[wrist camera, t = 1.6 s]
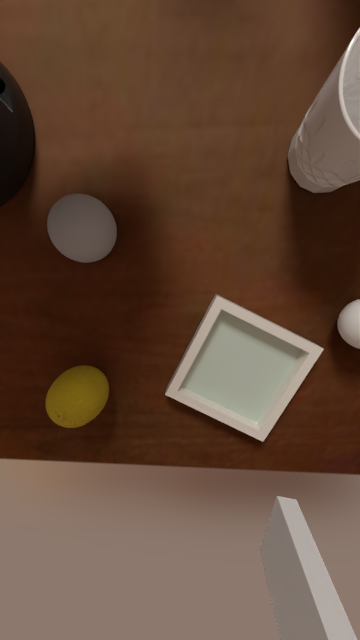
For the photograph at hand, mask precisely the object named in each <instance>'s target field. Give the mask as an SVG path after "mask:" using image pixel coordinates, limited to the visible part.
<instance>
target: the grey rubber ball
mask: <svg viewBox="0 0 360 640" xmlns="http://www.w3.org/2000/svg"><path fill="white" fill-rule="evenodd" d="M47 229H48V234H49V236H50V239H51V241H52V243H53V244H54V246H55V247H56V248H57V249H58V250H59V251H60V252H61V253H62V254H63V255H64V256H66V257H68V258H69V259H72V260H74V261H77V262H83V263H89V262H95V261H98V260H100V259H102V258H104V257H105V256H106V255H108V254H109V252H110V251H111V250H112V248H113V246H114V244H115V241H116V237H117V227H116V223H115V220H114V217H113V215H112V213H111V212H110V210H109V209H108V208H107V207H106V206H105V205H104V204H103V203H102V202H101V201H100V200H98V199H96V198H94V197H92V196H90V195H86V194H80V193H77V194H69V195H66V196H64V197H62V198H61V199H59V200H58V201H57V202H56V203H55V204H54V205H53V206H52V208H51V209H50V212H49V215H48V219H47Z"/></svg>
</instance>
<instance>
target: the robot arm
mask: <svg viewBox="0 0 360 640" xmlns="http://www.w3.org/2000/svg"><path fill="white" fill-rule="evenodd" d="M33 148H34V131H33V123H32V118H31V114H30V110H29V107H28V104H27V101H26V99H25V96H24V94H23V92H22V90H21V88H20V86H19V85H18V83H17V81H16V80H15V78H14V77H13V76H12V74H11V73H10V72H9V71H8V69H7V68H6V67H5V66H4V65H3V64H2V63H1V62H0V205H2V204H3V203H5V202H6V201H7V200H9V199H10V198H11V197H12V196H13V195H14V194H15V193H16V192H17V190H18V189H19V188H20V186H21V185H22V183H23V181H24V180H25V178H26V175H27V173H28V171H29V168H30V164H31V161H32V156H33ZM260 552H261V557H262V561H263V565H264V570H265V574H266V579H267V583H268V588H269V592H270V596H271V601H272V605H273V609H274V614H275V618H276V622H277V627H278V631H279V635H280V639H281V640H357V638H356V636H355V634H354V631H353V629H352V627H351V624H350V622H349V620H348V618H347V615H346V613H345V611H344V608H343V606H342V604H341V602H340V599H339V597H338V595H337V592H336V590H335V588H334V585H333V583H332V581H331V578H330V576H329V574H328V571H327V569H326V567H325V565H324V562H323V560H322V558H321V555H320V553H319V551H318V549H317V546H316V544H315V542H314V539H313V537H312V535H311V532H310V530H309V528H308V526H307V523H306V521H305V519H304V516H303V514H302V512H301V509H300V507H299V505H298V502H297V500H295V499H290V498H285V497H280V496H277V497H276V501H275V504H274V507H273V510H272V513H271V517H270V520H269V522H268V526H267V529H266V532H265V535H264V538H263V541H262V545H261V548H260Z"/></svg>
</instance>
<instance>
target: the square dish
mask: <svg viewBox="0 0 360 640" xmlns="http://www.w3.org/2000/svg"><path fill="white" fill-rule="evenodd" d="M323 350H324V349H323V348H321V347H320V346H318V345H317V344H315V343H313V342H311V341H309V340H307V339H305V338H303V337H301V336H299V335H297V334H295V333H293V332H291V331H289V330H287V329H285V328H283V327H281V326H279V325H277V324H275V323H273V322H271V321H269V320H267V319H265V318H263V317H261V316H259V315H257V314H255V313H253V312H251V311H249V310H247V309H245V308H243V307H241V306H239V305H237V304H235V303H233V302H231V301H229V300H227V299H225V298H223V297H221V296H219V295H217V294H215V296H214V298H213V299H212V301H211V303H210V305H209V307H208V309H207V311H206V313H205V315H204V317H203V319H202V321H201V322H200V324H199V326H198V328H197V330H196V332H195V334H194V336H193V338H192V340H191V342H190V344H189V345H188V347H187V349H186V351H185V353H184V355H183V357H182V359H181V361H180V363H179V365H178V366H177V368H176V370H175V372H174V374H173V376H172V378H171V380H170V382H169V384H168V386H167V389H166V393H165V395H167V396H169V397H171V398H173V399H175V400H177V401H179V402H181V403H183V404H185V405H187V406H189V407H192V408H194V409H196V410H198V411H200V412H202V413H204V414H206V415H208V416H210V417H212V418H214V419H217V420H219V421H221V422H223V423H225V424H227V425H229V426H231V427H233V428H235V429H237V430H239V431H241V432H244V433H246V434H248V435H250V436H252V437H254V438H256V439H258V440H260V441H262V442H263V441H264V440H265V438H266V437H267V435H268V434H269V432H270V431H271V429H272V428H273V426H274V425H275V423H276V422H277V420H278V418H279V417H280V415H281V414H282V412H283V411H284V409H285V408H286V406H287V405H288V403H289V402H290V400H291V399H292V397H293V395H294V394H295V392H296V391H297V389H298V388H299V386H300V385H301V383H302V382H303V380H304V379H305V377H306V376H307V374H308V372H309V371H310V369H311V368H312V366H313V365H314V363H315V362H316V360H317V359H318V357H319V356H320V354H321V353H322V351H323Z"/></svg>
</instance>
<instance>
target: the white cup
mask: <svg viewBox="0 0 360 640" xmlns="http://www.w3.org/2000/svg"><path fill="white" fill-rule="evenodd" d="M288 163H289V169H290V174H291V175H292V176H293V178H294V179H295V181H296V182H297V183H298V185H299V186H300V187H302V188H304V189H306V190H308V191H311V192H313V193H324V192H332V191H334V190H336V189H338V188H340V187H342V186H344V185H347V184H351V183H354V182H356V181H359V180H360V28H359V29H358V31H357V32H356V34H355V35H354V37H353V38H352V40H351V42H350V43H349V45H348V47H347V48H346V50H345V51H344V53H343V55H342V56H341V58H340V59H339V61H338V63H337V64H336V66H335V67H334V69H333V71H332V72H331V74H330V75H329V77H328V78H327V80H326V82H325V83H324V85H323V86H322V88H321V90H320V91H319V93H318V95H317V96H316V98H315V100H314V102H313V104H312V105H311V107H310V108H309V110H308V112H307V113H306V115H305V117H304V119H303V122H302V124H301V126H300V127H299V129H298V130H297V132H296V133H295V135H294V136H293V138H292V141H291V145H290V149H289V153H288Z"/></svg>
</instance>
